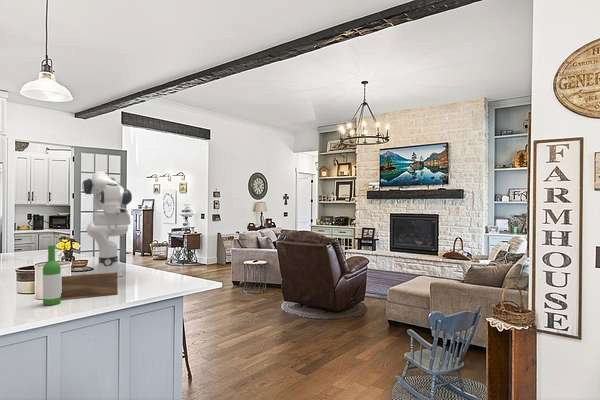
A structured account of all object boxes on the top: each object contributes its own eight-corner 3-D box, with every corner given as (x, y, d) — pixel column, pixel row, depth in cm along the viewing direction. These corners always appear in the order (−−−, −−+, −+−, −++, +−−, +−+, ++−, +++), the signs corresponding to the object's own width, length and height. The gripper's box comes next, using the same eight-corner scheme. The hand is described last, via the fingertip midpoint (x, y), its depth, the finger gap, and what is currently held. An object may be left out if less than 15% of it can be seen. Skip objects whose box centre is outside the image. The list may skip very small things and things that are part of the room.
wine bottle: (53, 301, 199) (52, 244, 199) (64, 302, 196) (64, 244, 196) (39, 305, 191) (38, 246, 191) (50, 306, 189) (50, 246, 189)
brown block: (62, 294, 212) (62, 273, 212) (118, 289, 224) (117, 269, 224) (58, 300, 200) (58, 277, 200) (117, 294, 212) (117, 273, 212)
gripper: (92, 210, 224) (92, 233, 224) (130, 209, 233) (130, 232, 233) (93, 210, 230) (93, 233, 230) (130, 209, 238) (130, 231, 238)
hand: (112, 232), depth 231 cm, fingers closed
